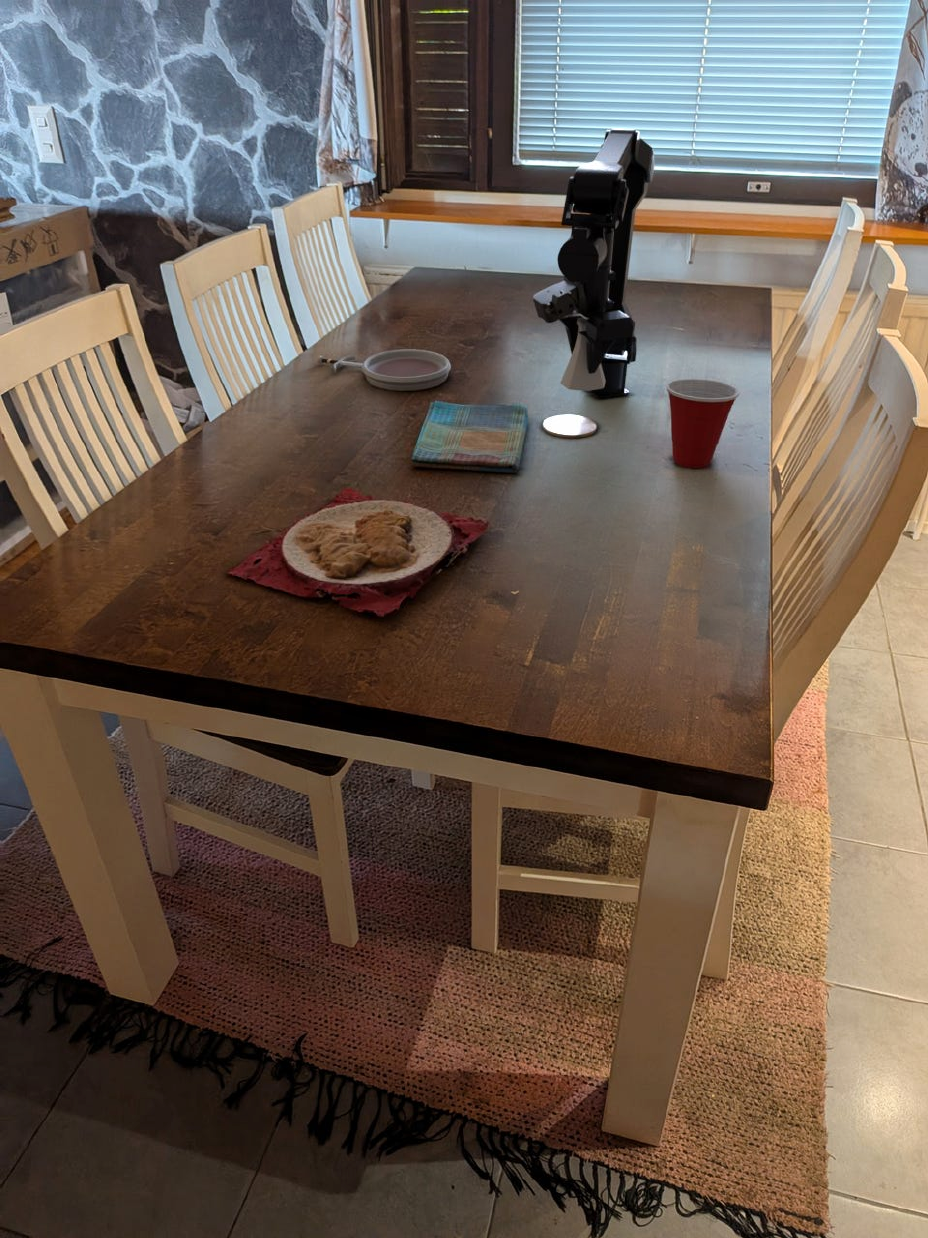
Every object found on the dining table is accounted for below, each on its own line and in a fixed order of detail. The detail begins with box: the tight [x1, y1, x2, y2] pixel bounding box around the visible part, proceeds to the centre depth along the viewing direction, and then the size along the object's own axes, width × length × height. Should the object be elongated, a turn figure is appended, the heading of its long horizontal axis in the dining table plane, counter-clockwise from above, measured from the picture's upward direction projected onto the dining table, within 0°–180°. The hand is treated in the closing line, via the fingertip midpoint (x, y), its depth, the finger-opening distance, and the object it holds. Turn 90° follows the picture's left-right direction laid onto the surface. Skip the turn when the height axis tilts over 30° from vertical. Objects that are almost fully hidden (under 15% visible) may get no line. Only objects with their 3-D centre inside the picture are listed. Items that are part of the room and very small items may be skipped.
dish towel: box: [410, 400, 529, 474], centre depth 147 cm, size 17×23×2 cm
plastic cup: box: [665, 378, 741, 469], centre depth 139 cm, size 11×11×12 cm
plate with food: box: [226, 488, 490, 618], centre depth 117 cm, size 24×26×4 cm
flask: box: [560, 318, 606, 392], centre depth 140 cm, size 7×7×10 cm
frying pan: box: [315, 348, 452, 392], centre depth 175 cm, size 17×3×28 cm
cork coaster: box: [542, 414, 598, 439], centre depth 153 cm, size 9×9×1 cm
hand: (584, 367), depth 142 cm, fingers closed on flask, 5 cm apart
